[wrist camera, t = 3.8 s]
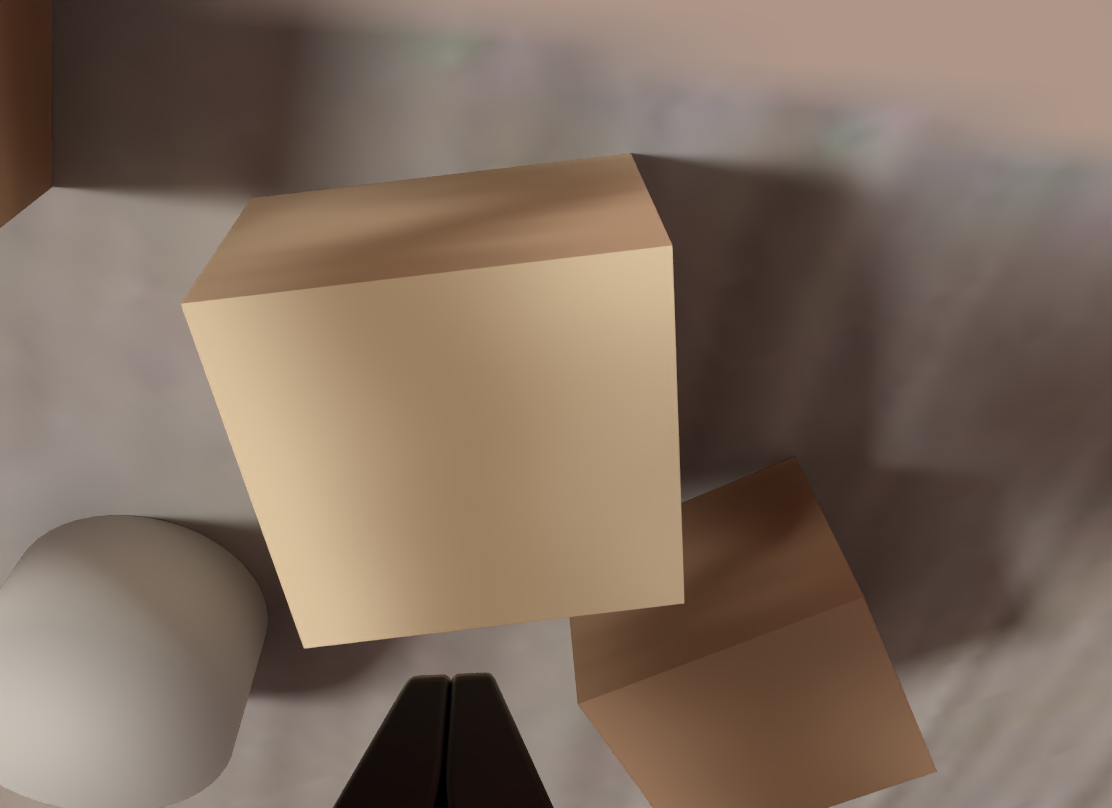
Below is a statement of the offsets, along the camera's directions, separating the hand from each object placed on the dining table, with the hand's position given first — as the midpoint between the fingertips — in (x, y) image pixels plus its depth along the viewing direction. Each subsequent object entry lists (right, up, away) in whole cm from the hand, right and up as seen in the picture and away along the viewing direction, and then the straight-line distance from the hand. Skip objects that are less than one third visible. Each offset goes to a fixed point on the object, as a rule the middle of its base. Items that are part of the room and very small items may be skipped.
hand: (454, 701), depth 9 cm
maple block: (0, +4, +7) cm, 8 cm away
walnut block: (+5, -1, +10) cm, 11 cm away
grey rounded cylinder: (-7, -1, +10) cm, 12 cm away
